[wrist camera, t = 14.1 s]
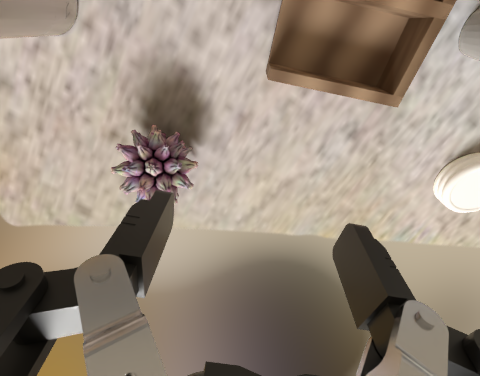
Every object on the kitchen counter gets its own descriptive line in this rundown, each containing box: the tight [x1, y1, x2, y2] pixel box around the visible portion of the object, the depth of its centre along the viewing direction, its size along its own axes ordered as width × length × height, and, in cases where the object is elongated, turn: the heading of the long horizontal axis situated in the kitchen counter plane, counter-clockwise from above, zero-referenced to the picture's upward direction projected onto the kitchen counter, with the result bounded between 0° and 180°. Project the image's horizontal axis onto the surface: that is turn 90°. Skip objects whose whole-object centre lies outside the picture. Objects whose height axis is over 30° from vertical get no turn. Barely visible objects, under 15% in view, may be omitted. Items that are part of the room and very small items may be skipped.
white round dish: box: [433, 153, 480, 213], centre depth 40 cm, size 10×10×4 cm
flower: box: [111, 125, 198, 203], centre depth 35 cm, size 12×12×12 cm
